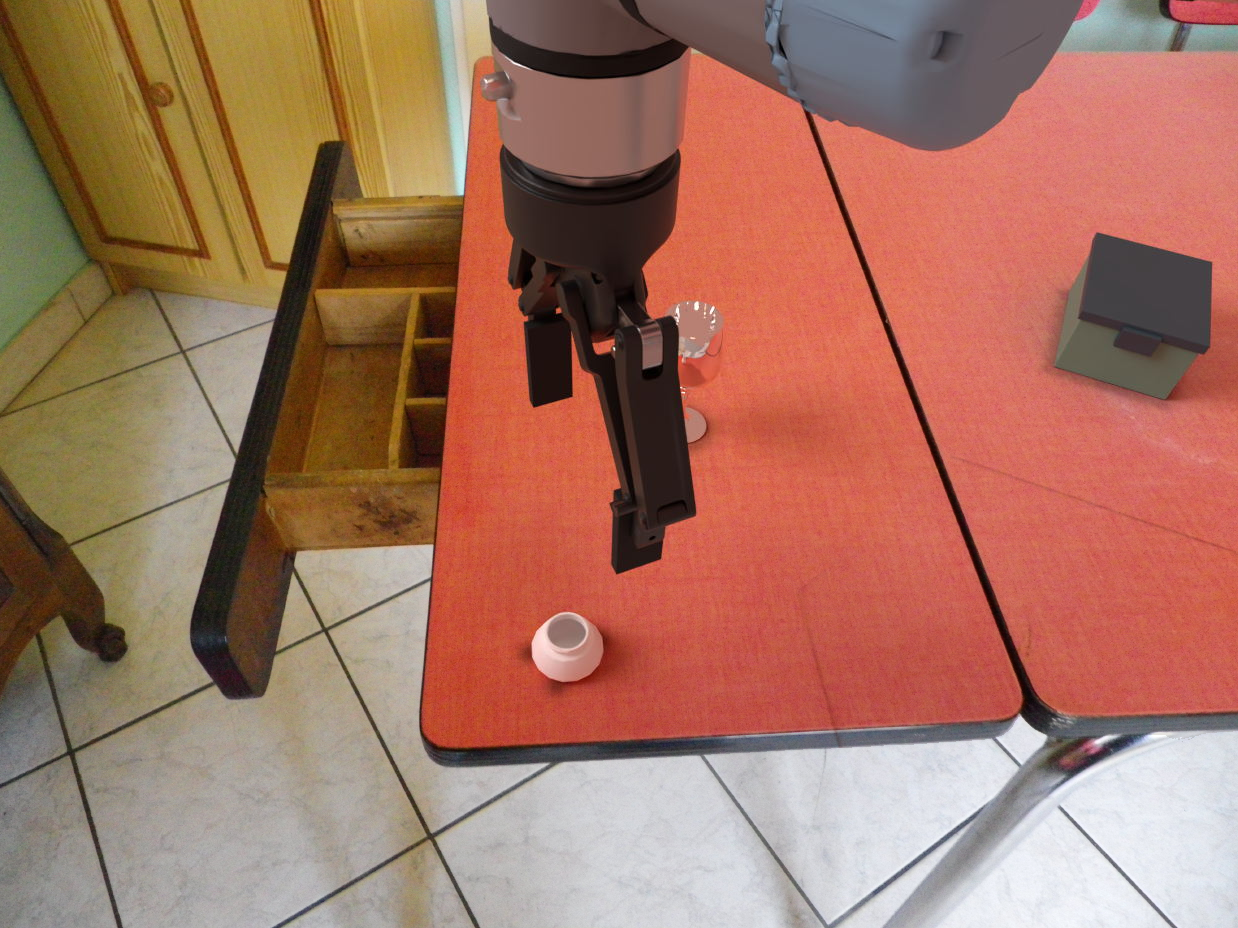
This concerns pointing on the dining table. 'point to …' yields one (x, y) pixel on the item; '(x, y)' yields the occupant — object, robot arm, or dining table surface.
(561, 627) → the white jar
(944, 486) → the dining table surface
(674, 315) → the wineglass
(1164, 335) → the box
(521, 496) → the dining table surface
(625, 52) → the robot arm
